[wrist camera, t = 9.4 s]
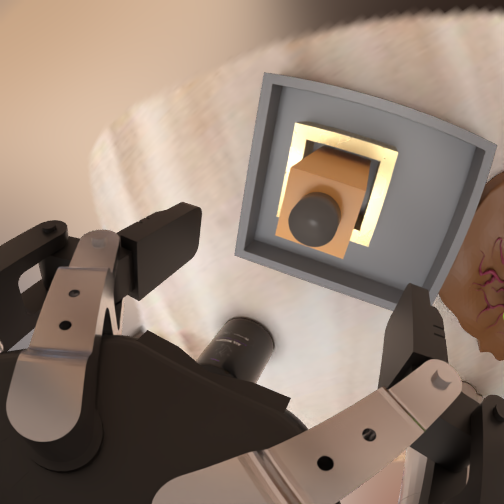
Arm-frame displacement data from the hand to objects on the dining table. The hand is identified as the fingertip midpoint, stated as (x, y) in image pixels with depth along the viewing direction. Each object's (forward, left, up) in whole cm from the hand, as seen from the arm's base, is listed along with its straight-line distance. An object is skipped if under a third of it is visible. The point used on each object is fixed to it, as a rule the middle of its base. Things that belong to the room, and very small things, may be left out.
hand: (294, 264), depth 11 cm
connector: (0, 0, -16) cm, 16 cm away
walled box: (-2, +1, -17) cm, 17 cm away
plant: (-21, +2, -18) cm, 27 cm away
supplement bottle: (+5, +22, -17) cm, 29 cm away
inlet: (0, 0, -17) cm, 17 cm away
